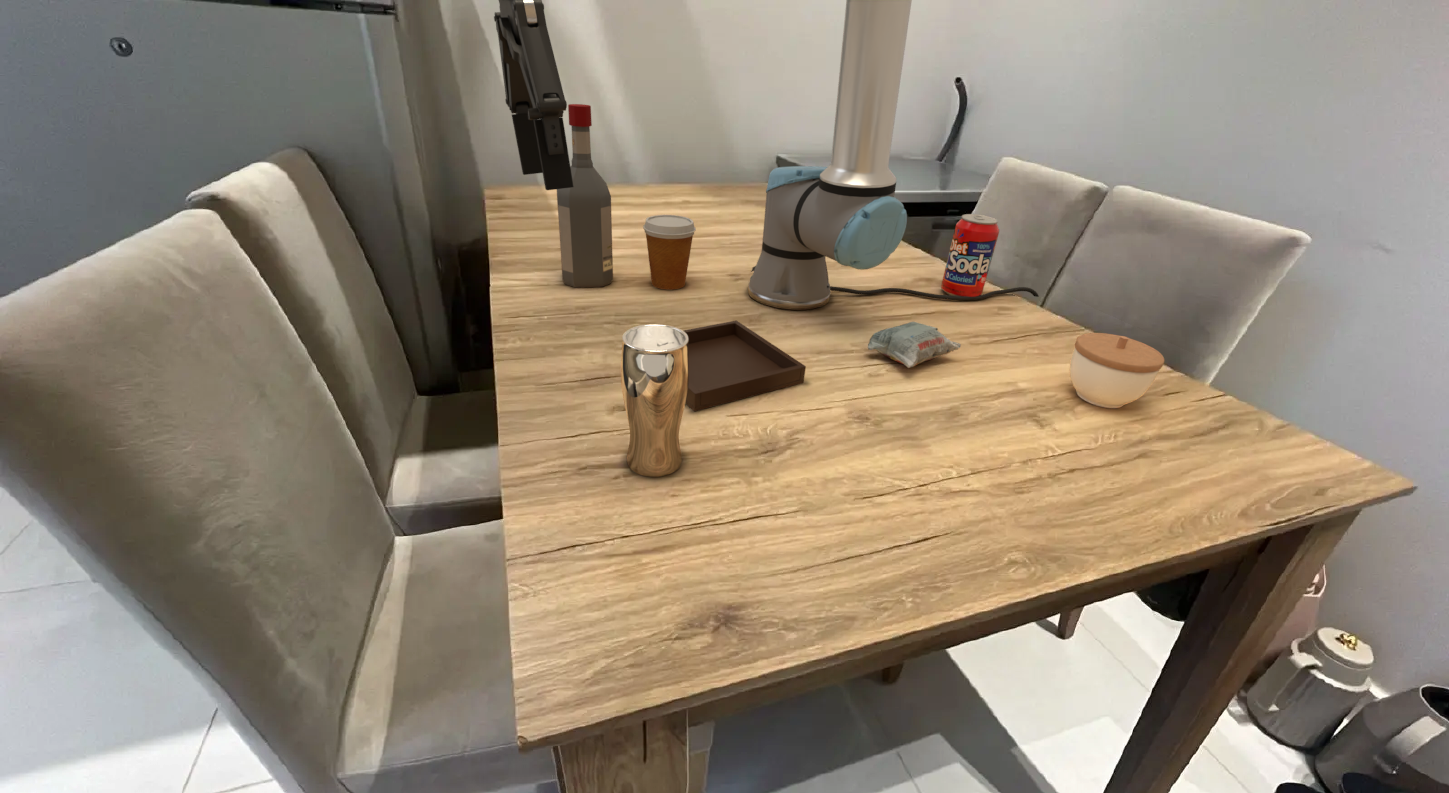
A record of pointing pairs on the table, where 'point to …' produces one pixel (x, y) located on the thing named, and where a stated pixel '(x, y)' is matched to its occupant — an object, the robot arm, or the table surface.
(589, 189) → the liquor
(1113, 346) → the trinket box
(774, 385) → the serving tray
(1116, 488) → the table surface
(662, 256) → the disposable coffee cup
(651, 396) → the beer glass
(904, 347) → the packaged food
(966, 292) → the soda can
